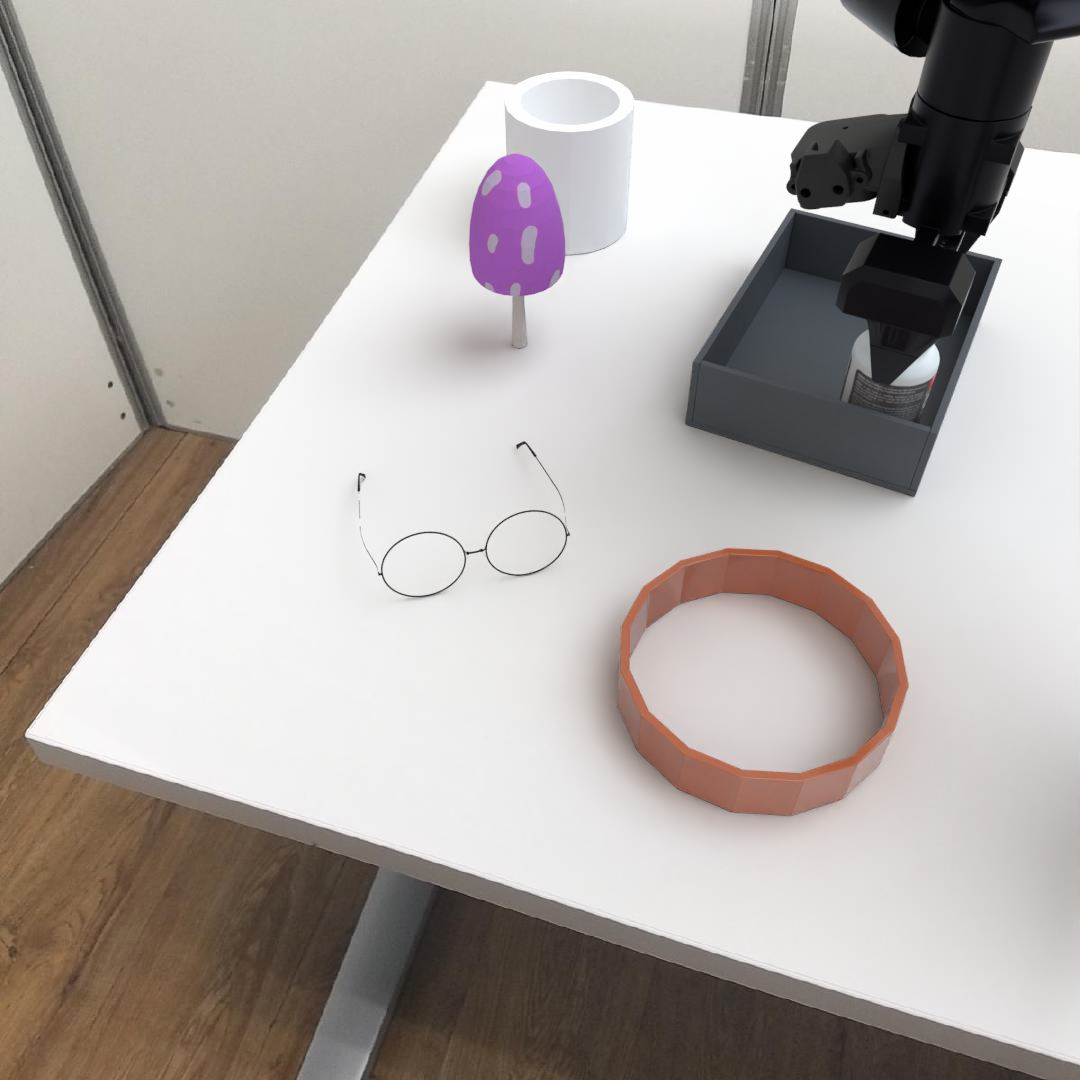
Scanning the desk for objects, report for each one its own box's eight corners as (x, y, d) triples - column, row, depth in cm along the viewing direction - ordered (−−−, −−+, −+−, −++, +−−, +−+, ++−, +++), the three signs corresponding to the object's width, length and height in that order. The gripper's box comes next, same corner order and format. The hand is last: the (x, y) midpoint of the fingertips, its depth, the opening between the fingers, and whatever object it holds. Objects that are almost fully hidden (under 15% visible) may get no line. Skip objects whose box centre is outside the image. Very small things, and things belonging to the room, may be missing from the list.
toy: (463, 362, 79) (448, 175, 68) (491, 310, 83) (482, 126, 72) (549, 378, 77) (549, 191, 66) (574, 325, 82) (578, 140, 71)
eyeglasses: (348, 478, 71) (337, 422, 67) (531, 444, 73) (531, 387, 69) (376, 607, 63) (365, 552, 60) (578, 564, 66) (580, 509, 62)
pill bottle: (926, 455, 71) (969, 336, 64) (851, 468, 70) (886, 350, 63) (890, 403, 75) (927, 285, 67) (818, 415, 74) (848, 297, 66)
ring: (919, 641, 61) (935, 603, 59) (847, 861, 53) (862, 829, 50) (676, 555, 66) (682, 516, 63) (573, 744, 57) (573, 708, 54)
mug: (541, 164, 98) (540, 47, 90) (649, 181, 96) (658, 63, 88) (492, 243, 89) (486, 121, 81) (609, 263, 87) (615, 140, 79)
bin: (980, 320, 82) (1003, 258, 78) (914, 497, 69) (937, 434, 65) (779, 268, 86) (791, 207, 82) (684, 424, 74) (692, 361, 70)
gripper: (867, 1, 63) (818, 233, 74) (765, 143, 52) (726, 390, 63) (1064, 36, 59) (980, 274, 71) (1000, 196, 48) (913, 446, 60)
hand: (900, 339), depth 67 cm, fingers open, 9 cm apart
